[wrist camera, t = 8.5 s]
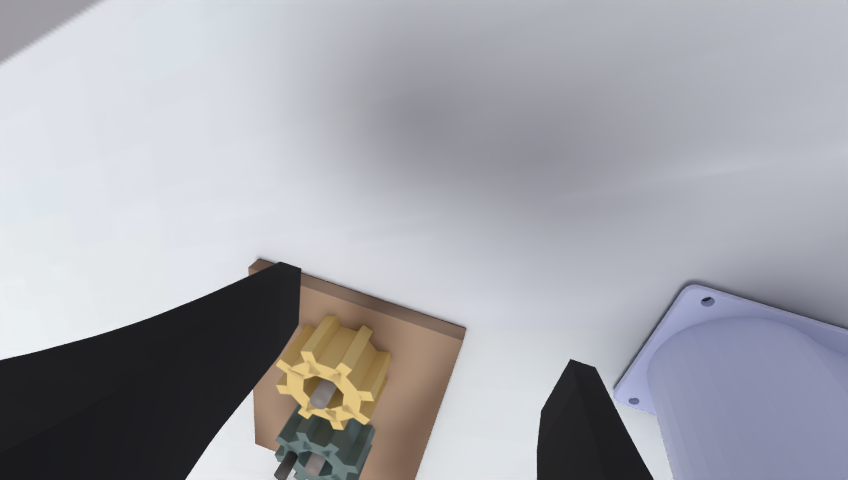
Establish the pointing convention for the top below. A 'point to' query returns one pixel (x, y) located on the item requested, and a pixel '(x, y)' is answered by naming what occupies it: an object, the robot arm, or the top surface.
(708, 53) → the top surface
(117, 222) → the top surface
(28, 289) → the top surface
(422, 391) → the gear board
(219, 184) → the top surface
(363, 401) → the ochre gear
